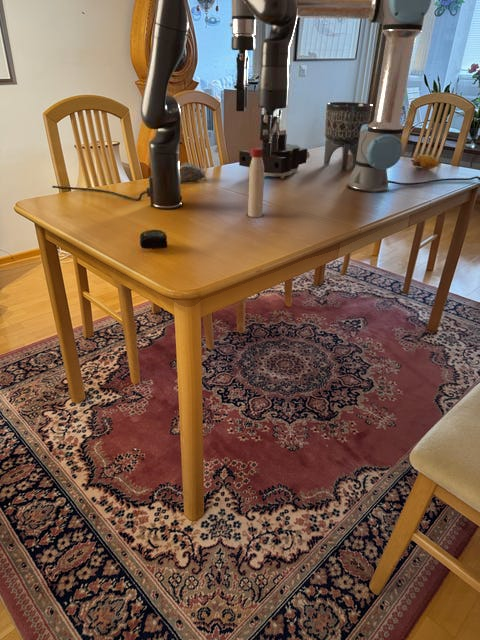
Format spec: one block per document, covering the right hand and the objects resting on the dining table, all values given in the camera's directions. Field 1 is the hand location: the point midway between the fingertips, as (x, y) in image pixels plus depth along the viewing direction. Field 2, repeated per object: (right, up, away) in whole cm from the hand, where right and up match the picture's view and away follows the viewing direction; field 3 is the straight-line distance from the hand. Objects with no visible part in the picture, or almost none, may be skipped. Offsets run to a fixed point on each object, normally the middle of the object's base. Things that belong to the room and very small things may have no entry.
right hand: (241, 109), depth 155 cm
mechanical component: (+17, -9, +42) cm, 46 cm away
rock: (-20, -16, +27) cm, 37 cm away
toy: (+85, -1, +57) cm, 103 cm away
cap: (+5, -22, -21) cm, 30 cm away
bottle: (+4, -39, -11) cm, 40 cm away
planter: (+47, -1, +56) cm, 73 cm away
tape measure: (-23, -54, -37) cm, 69 cm away
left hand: (+7, -27, -33) cm, 43 cm away
